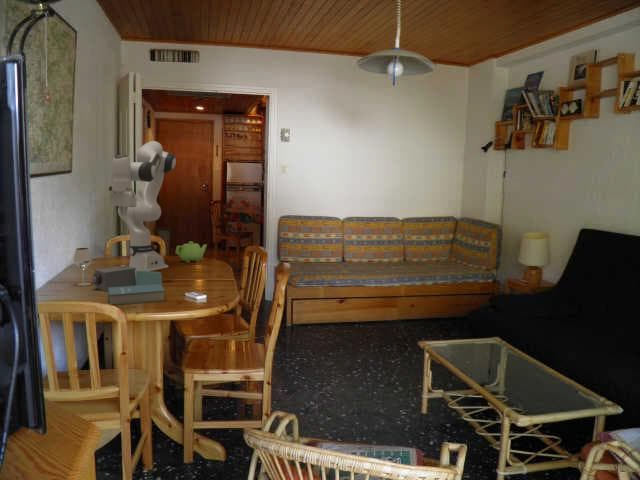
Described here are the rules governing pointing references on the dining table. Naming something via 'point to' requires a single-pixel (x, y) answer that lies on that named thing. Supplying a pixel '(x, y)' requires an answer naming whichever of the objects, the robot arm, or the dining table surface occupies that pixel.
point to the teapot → (191, 252)
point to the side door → (147, 278)
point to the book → (136, 294)
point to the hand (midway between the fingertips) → (123, 215)
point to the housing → (114, 277)
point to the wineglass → (82, 261)
